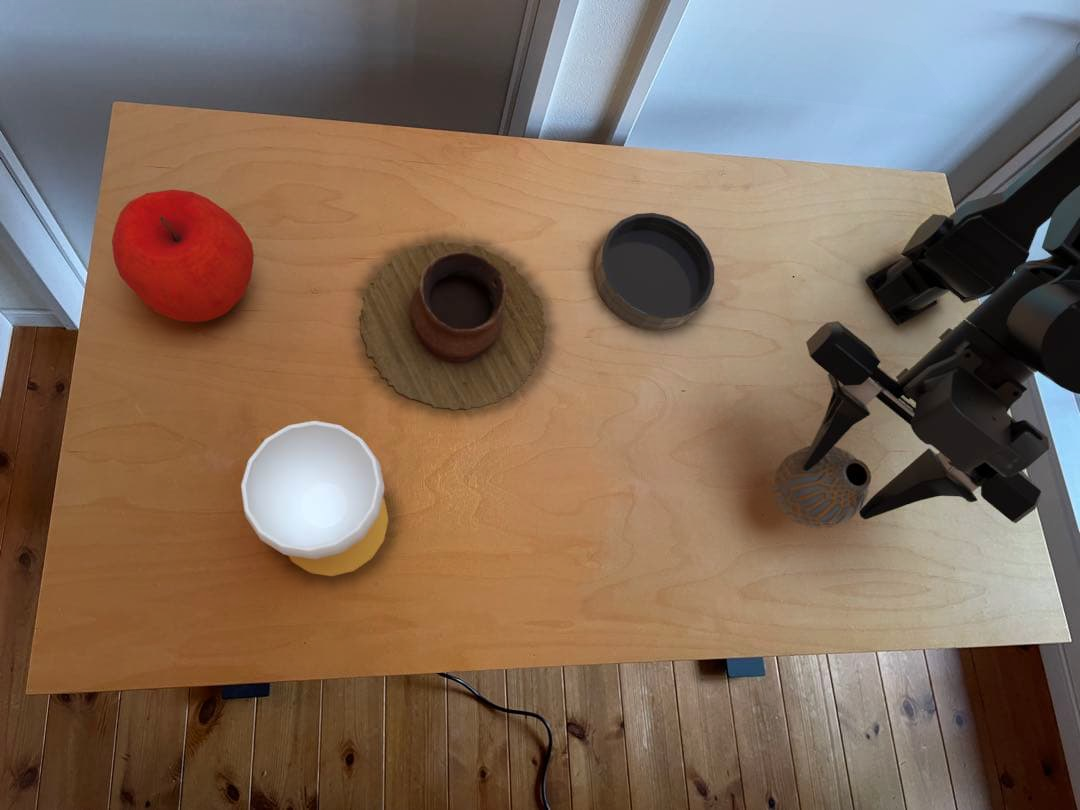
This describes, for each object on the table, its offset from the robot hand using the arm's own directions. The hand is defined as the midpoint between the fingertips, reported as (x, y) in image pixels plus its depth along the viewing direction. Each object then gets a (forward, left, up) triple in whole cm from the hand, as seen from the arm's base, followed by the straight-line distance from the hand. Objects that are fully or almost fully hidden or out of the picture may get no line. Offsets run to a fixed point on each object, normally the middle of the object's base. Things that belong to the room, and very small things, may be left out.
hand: (832, 491), depth 54 cm
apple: (+36, -42, -12) cm, 57 cm away
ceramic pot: (+17, -30, -12) cm, 37 cm away
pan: (-4, -26, -12) cm, 29 cm away
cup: (+35, -18, -12) cm, 41 cm away
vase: (-1, -1, -7) cm, 7 cm away
